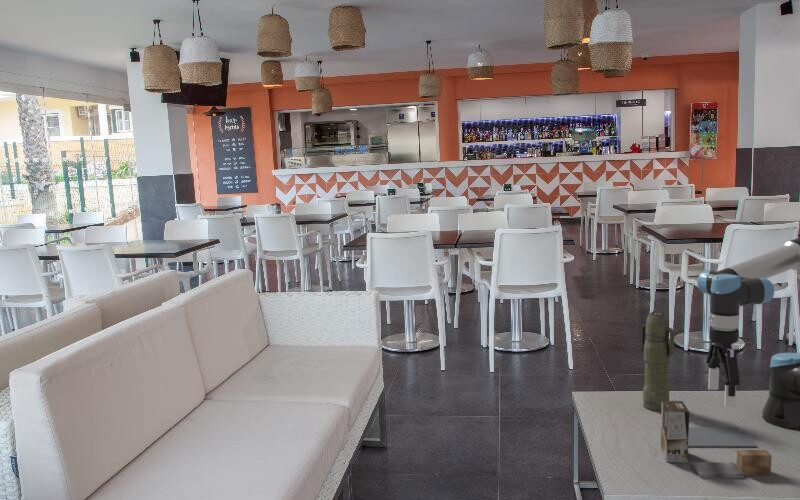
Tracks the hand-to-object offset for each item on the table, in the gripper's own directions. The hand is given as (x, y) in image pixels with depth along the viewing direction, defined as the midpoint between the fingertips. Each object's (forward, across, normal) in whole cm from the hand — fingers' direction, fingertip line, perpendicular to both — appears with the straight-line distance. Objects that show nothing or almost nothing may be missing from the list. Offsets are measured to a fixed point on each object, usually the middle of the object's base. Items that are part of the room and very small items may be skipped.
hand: (721, 397), depth 193 cm
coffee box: (+20, -2, -12) cm, 24 cm away
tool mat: (+20, -16, +2) cm, 26 cm away
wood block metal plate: (+20, +7, +1) cm, 21 cm away
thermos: (+20, -42, -8) cm, 47 cm away
